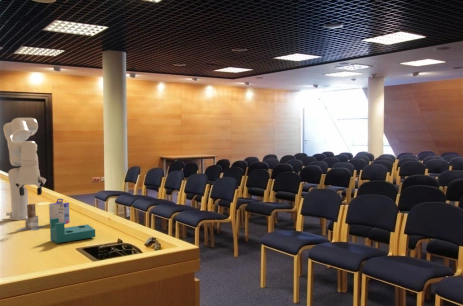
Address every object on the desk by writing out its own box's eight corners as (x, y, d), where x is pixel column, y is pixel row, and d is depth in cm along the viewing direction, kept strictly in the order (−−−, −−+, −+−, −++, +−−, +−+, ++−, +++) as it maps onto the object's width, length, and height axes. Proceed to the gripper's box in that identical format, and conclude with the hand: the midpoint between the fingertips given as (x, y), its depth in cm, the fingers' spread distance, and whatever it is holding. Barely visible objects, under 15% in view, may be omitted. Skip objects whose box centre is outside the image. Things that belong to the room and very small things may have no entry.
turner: (25, 229, 233) (24, 205, 233) (33, 226, 241) (32, 203, 241) (31, 229, 233) (29, 205, 233) (38, 226, 241) (37, 203, 241)
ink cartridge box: (70, 223, 250) (69, 198, 250) (64, 225, 245) (63, 200, 244) (55, 223, 252) (54, 198, 252) (49, 225, 247) (48, 199, 246)
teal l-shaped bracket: (56, 246, 200) (56, 224, 199) (50, 240, 208) (50, 218, 207) (95, 239, 211) (95, 218, 209) (87, 234, 219) (87, 213, 218)
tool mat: (15, 231, 232) (15, 230, 232) (27, 226, 244) (27, 225, 244) (37, 231, 231) (37, 230, 231) (48, 226, 243) (48, 225, 243)
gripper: (9, 164, 233) (11, 196, 233) (41, 163, 232) (42, 195, 232) (17, 164, 240) (19, 194, 240) (48, 162, 239) (49, 193, 239)
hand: (30, 195), depth 236 cm, fingers open, 9 cm apart
